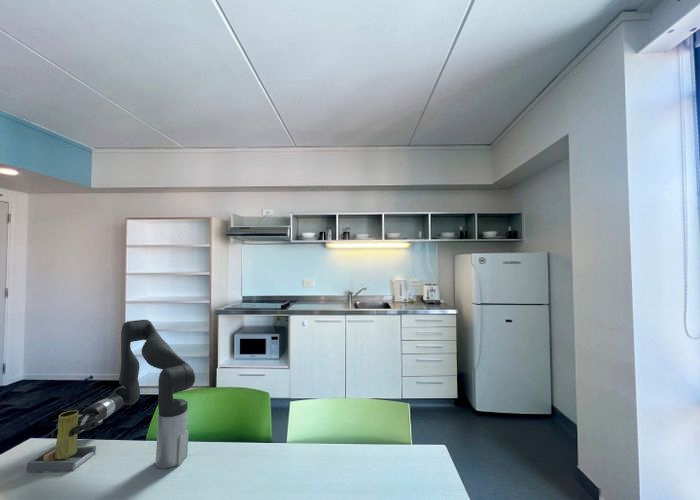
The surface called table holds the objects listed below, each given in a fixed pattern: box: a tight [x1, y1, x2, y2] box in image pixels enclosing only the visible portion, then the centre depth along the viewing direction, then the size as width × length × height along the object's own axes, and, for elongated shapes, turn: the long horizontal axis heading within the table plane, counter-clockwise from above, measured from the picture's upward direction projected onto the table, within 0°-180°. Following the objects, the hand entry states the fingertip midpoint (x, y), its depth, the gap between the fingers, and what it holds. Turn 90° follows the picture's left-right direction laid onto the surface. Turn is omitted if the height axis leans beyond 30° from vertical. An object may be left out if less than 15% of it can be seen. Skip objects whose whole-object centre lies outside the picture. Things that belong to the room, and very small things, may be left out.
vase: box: [54, 409, 79, 460], centre depth 109 cm, size 6×6×14 cm
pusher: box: [43, 449, 57, 461], centre depth 108 cm, size 1×7×4 cm, turn 3°
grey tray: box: [25, 445, 97, 473], centre depth 108 cm, size 15×10×3 cm, turn 93°
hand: (61, 434), depth 106 cm, fingers closed on vase, 5 cm apart
